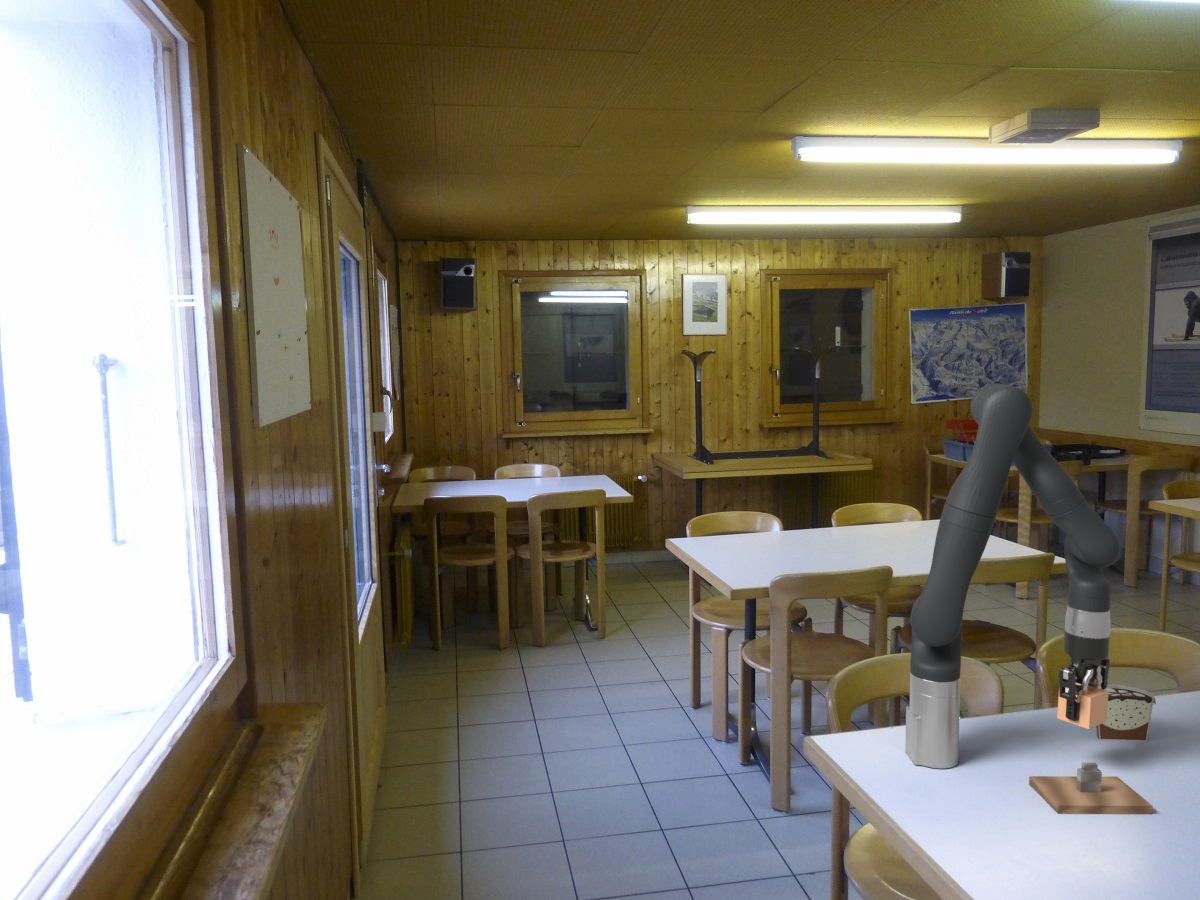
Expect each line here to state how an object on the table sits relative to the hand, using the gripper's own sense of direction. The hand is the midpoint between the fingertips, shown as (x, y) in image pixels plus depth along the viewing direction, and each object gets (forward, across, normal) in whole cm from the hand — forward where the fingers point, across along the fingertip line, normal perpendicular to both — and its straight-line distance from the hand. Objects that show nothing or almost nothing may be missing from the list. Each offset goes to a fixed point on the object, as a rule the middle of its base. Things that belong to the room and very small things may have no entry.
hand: (1081, 715), depth 168 cm
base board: (+10, -11, -8) cm, 17 cm away
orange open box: (+1, 0, 0) cm, 1 cm away
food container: (+10, +22, +4) cm, 24 cm away
